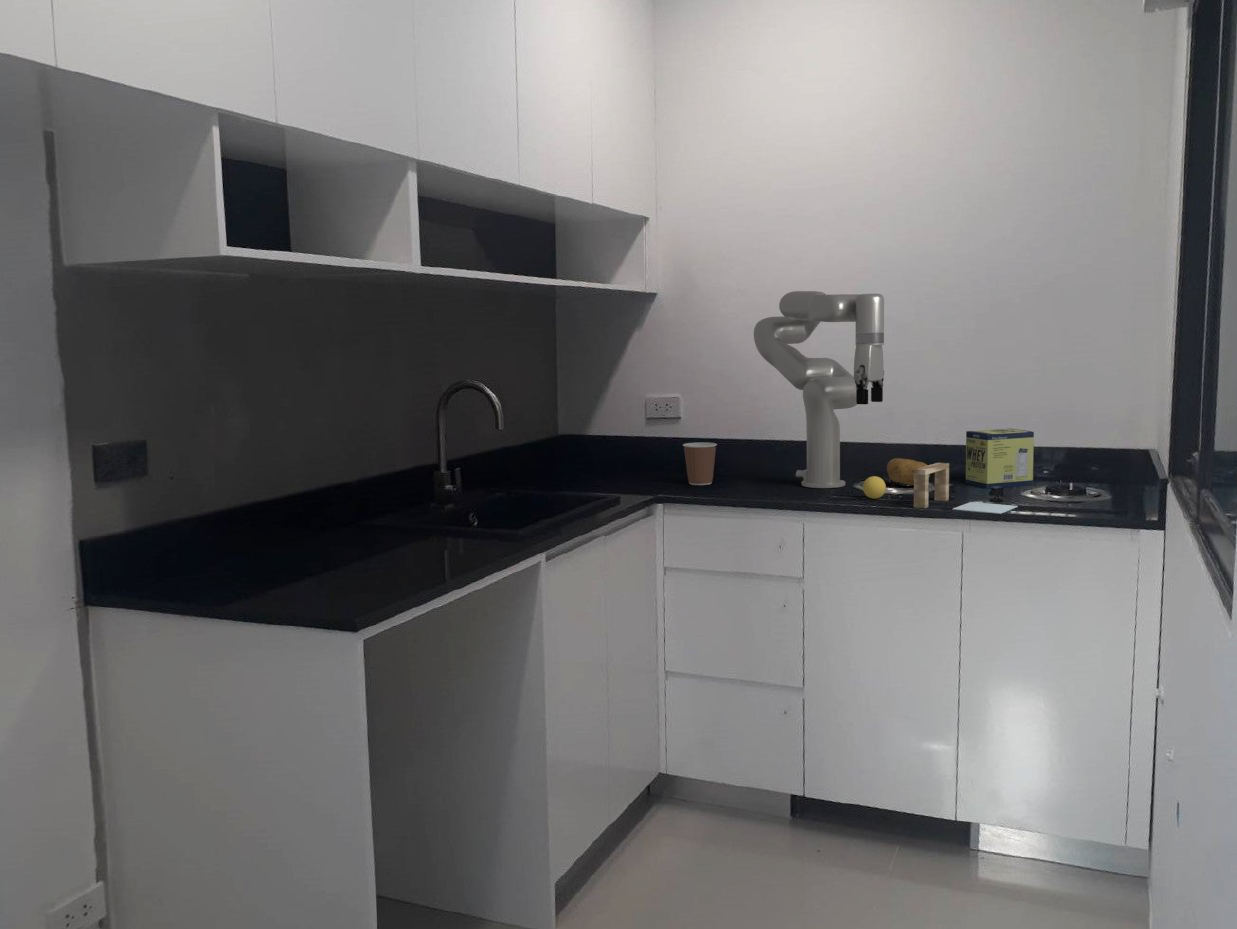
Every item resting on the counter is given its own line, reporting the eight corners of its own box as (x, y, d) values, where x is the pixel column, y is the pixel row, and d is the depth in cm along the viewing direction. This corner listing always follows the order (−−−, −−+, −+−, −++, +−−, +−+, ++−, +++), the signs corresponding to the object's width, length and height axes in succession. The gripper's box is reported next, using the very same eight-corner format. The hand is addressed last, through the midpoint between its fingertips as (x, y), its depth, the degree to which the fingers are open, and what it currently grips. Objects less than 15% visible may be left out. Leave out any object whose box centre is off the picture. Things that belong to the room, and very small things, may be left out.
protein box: (964, 484, 301) (965, 430, 299) (1010, 480, 306) (1011, 428, 304) (986, 489, 291) (987, 433, 289) (1034, 485, 296) (1035, 430, 294)
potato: (914, 491, 290) (915, 462, 289) (878, 485, 303) (878, 458, 302) (939, 488, 295) (940, 460, 294) (903, 482, 307) (903, 455, 306)
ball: (858, 499, 280) (858, 477, 279) (869, 496, 284) (869, 474, 283) (879, 501, 276) (879, 478, 275) (889, 497, 280) (889, 475, 280)
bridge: (913, 507, 265) (914, 469, 264) (937, 499, 277) (938, 462, 275) (924, 508, 263) (925, 470, 262) (948, 499, 275) (949, 463, 273)
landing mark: (952, 509, 260) (952, 508, 260) (970, 502, 269) (970, 502, 269) (1000, 513, 253) (1000, 513, 253) (1017, 506, 262) (1017, 505, 262)
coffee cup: (723, 482, 318) (722, 443, 316) (707, 486, 309) (707, 446, 308) (693, 480, 323) (692, 441, 322) (677, 484, 315) (676, 445, 313)
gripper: (869, 339, 291) (869, 400, 294) (843, 340, 278) (843, 405, 280) (895, 339, 287) (895, 401, 289) (869, 340, 273) (869, 405, 275)
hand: (869, 403), depth 284 cm, fingers open, 9 cm apart
